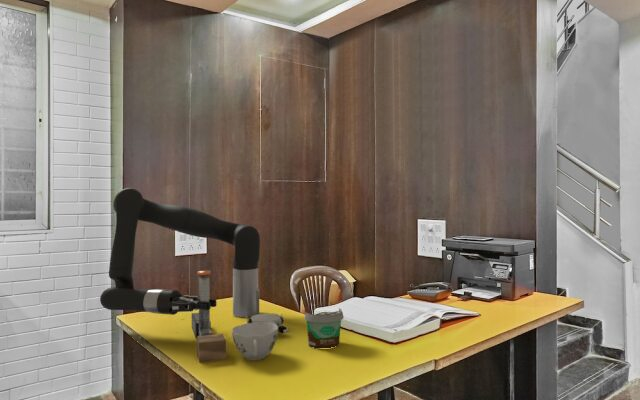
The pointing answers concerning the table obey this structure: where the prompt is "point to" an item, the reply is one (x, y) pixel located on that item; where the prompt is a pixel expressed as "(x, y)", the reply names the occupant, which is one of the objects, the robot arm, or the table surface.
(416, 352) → the table surface
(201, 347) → the socket
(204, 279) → the tube
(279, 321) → the robot toy
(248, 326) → the teacup
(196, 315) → the sleeve
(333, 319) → the food container
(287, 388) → the table surface
